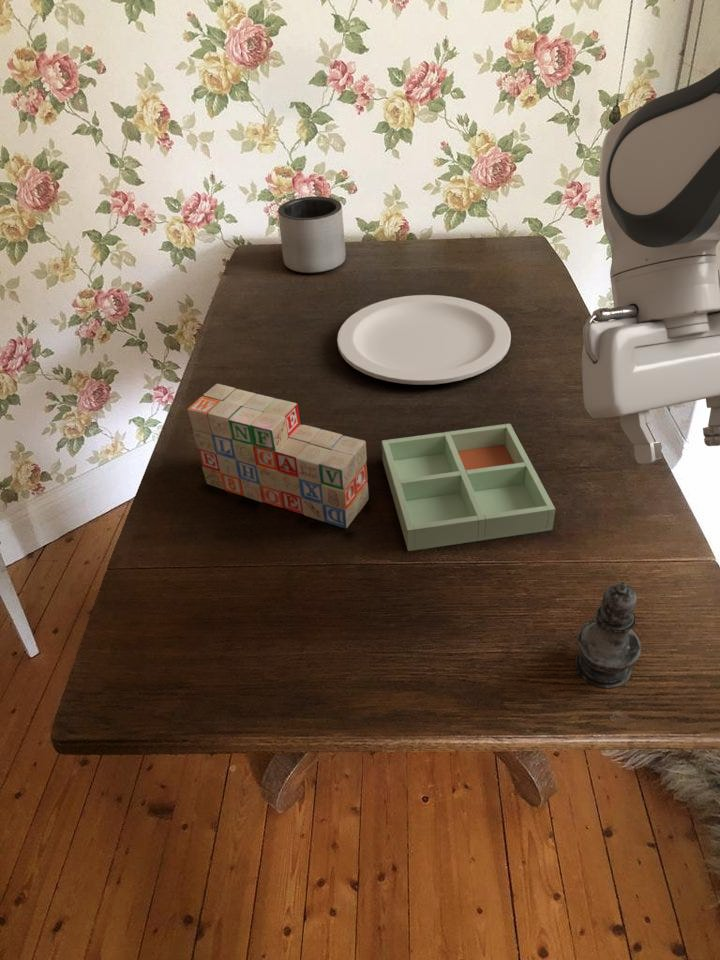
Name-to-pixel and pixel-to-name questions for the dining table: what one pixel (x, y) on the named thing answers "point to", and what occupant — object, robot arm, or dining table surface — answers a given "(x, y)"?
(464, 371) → the plate
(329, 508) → the stack of blocks
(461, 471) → the grid
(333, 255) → the planter
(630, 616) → the grey chess piece
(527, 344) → the dining table surface
